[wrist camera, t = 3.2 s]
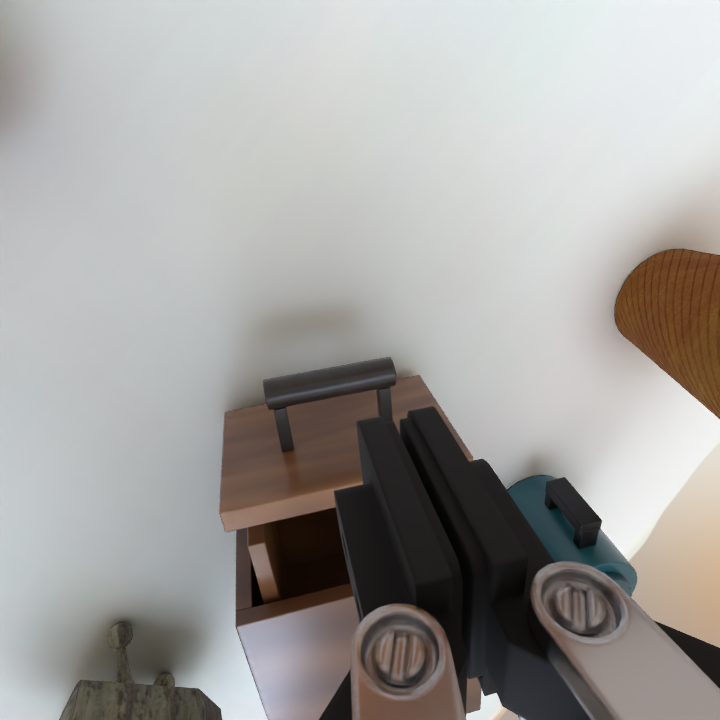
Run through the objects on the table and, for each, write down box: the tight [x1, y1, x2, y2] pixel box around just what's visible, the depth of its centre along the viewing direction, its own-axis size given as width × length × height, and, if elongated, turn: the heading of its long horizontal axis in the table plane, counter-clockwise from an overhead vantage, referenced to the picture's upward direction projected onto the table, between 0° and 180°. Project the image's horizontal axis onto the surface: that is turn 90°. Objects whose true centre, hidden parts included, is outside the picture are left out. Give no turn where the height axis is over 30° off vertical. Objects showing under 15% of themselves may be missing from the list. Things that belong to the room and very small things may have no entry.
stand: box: [236, 528, 481, 720], centre depth 31 cm, size 14×13×10 cm
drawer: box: [219, 357, 473, 605], centre depth 27 cm, size 17×11×8 cm
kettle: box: [507, 476, 637, 597], centre depth 34 cm, size 11×6×10 cm, turn 6°
